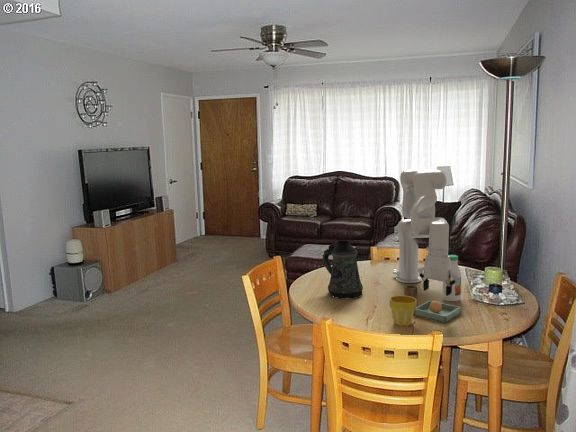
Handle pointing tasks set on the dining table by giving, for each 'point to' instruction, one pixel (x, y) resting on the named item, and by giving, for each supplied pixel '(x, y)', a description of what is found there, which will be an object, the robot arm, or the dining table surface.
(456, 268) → the milk bottle
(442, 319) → the tray
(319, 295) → the dining table surface
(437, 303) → the ball
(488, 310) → the dining table surface
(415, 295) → the wooden box
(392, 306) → the plant pot
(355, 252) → the beer stein
